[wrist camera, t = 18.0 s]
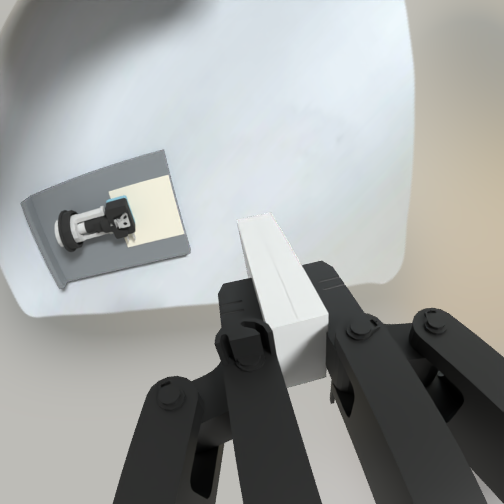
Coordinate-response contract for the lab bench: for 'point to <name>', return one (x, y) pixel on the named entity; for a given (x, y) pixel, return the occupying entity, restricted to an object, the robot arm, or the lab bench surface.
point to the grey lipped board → (94, 196)
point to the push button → (95, 223)
